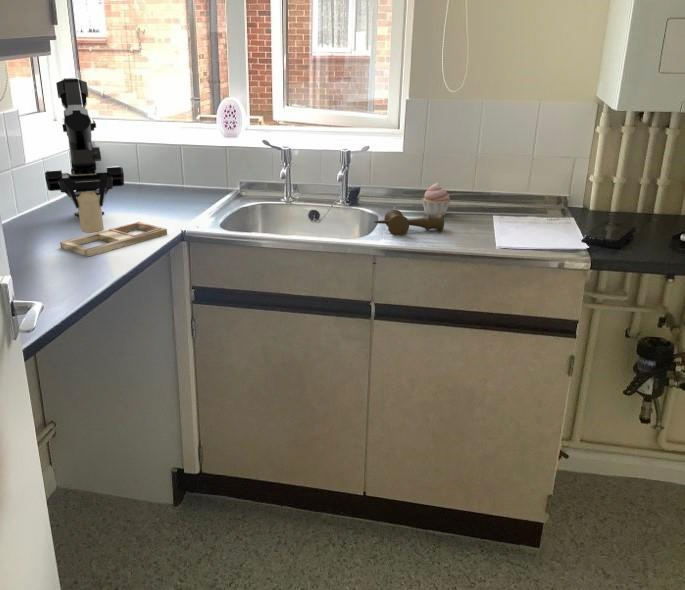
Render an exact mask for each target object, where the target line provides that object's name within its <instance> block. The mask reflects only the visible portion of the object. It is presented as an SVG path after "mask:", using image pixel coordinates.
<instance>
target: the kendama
mask: <svg viewBox="0 0 685 590" xmlns="http://www.w3.org/2000/svg"><path fill="white" fill-rule="evenodd" d="M373 223H374V224H383V225H384V224H385V225H386V227H387V230H388V232H389V234H390V235H392V236H395V237H397V236H398V237H400V236H404V235H406V234H407V233H408V231H409V229H410V226H412V227H419V228H423V229H425V230H426V231H430V230H437V231H439V232H443V231H444V228H445V216H443V215H442V214H439V215H438V216H434V217H431V216H429V215H426V214H425V216H423V217H419V218H411V219H408V218H407V217H406V216H404V215H403V213H402V211H400V210H399V209H396V208H395V209H390V210H388V211H387V212H386V213H385V215H384V220H374V222H373Z"/></svg>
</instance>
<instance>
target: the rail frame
mask: <svg viewBox="0 0 685 590" xmlns="http://www.w3.org/2000/svg"><path fill="white" fill-rule="evenodd" d="M135 229H136V230H142V231H144V232H141V233H137V234H132V233H128V232H126V231H129V232H131V230H132V231H135ZM165 235H168V228H166V227H161V226H156V225H152V224H149V223H147V222H146V223H144V222H142V221H137V222H133V223H129V224H125V225H121V226H117V227H113V228H110V229H106V230H103V231H100V232H96V233H89V234H87V235H82V236H78V237H75V238H71V239H66V240H62V241H60V242H59V245H60V249H64V250H66V251H70V252H73V253H77V254H78V255H83V256H86V257H92V256H96V255H99V254H103V253H105V252H109V251H113V250H116V249H115V248H117V249H119V248H118V247H120V248H123V247H122V246H124V247H126V246H125V245H127V246H130V245H129V244H131V245H133V243H134V244H137V243H140V242H144V241H148V240H152V239H155V238H159V237H161V236H165ZM98 240H100V241H104V242H107V243H104V244H99V245H97V246H94V247H93V246H92V247H87V246H83V244H86V243H90V242H95V241H98ZM112 249H113V250H112Z"/></svg>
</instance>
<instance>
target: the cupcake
mask: <svg viewBox="0 0 685 590" xmlns="http://www.w3.org/2000/svg"><path fill="white" fill-rule="evenodd" d="M420 200H421V202H422V205H423V209H424V210H423V211H424V215H425V216H426V215H429V216H431V217H434V216H438V215H439V214H442V215H443V216H444V217H445V216H446V214H447V211H448V208H449V206H450V204H451V202H452V199H450V194H449V193H448V191H447V190H446V188H444V187H442V186H441V185H440V183H439V182H435V183H433V184H432V185H431V186H430V187H429V188H428V189H427V190H426V191H425V192H424V196H423V197H422V198H421V199H420Z"/></svg>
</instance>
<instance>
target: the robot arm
mask: <svg viewBox="0 0 685 590" xmlns="http://www.w3.org/2000/svg"><path fill="white" fill-rule="evenodd" d="M55 84H56V91H57V96H58V99H60V100H61V106H62V107H63V108H64V110H63V118H61V124H62V130H63V133H66V136H67V138H68V139H67V140H68V147H69V156H70V164H71V171H70V173H71V174H70V173H68V172H62V169H48V170H46V171H45V173H44V177H45V182H46V183H45V184H46V188H47V190H48V191H51V192H55V191H60V192H61V193H64V194H66V195H67V196H68V198H69V199H70V200H71V202H72V203H73V205H74V207H75V208H76V209H78V203H77V198H78V197H79V195H80V194H81V193H82V192H87V191H93V192H94V193H95V194H97V195H98V196H99V197H100V203H101V207H103V206H104V202H105V199H106V196H107V194H108V192H109V191H110V190H113V188H114V187H122V186H124V185H125V176H124V175H125V174H124V168H123V167H122V166H121V165H115V166H106V171H105V172H97V163H96V162H101V161H102V156H101V149H100V148H101V147H100V146H96V147H94V146H93V139H92V132H94V131H95V129H97V122H96V121H94V119H93V117H90V113H89V110H88V109H87V108H86V107H87V104H88V102H87V98H89V88H88V82H86V81H85V80H82V79H81V78H79V77H64V78H62V79H61V80H60V81H57V82H56V83H55ZM104 214H105V211H102V215H104ZM73 215H75V216H78V217H79V211H77V212H74V213H73Z"/></svg>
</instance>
